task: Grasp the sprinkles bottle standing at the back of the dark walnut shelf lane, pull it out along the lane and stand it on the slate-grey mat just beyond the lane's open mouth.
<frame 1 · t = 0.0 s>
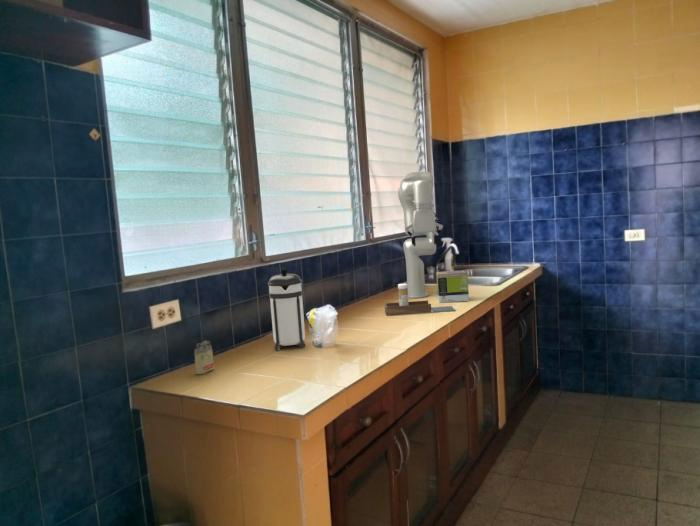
hand: (424, 244, 252), 31 cm above the countertop, fingers open, 9 cm apart
coffee press: (289, 345, 211), on the countertop
sprinkles bottle: (404, 312, 258), resting in walnut lane
pale green labeled container: (205, 372, 183), on the countertop
tea box: (453, 301, 280), on the countertop
walnut lane: (408, 312, 258), on the countertop
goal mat: (442, 309, 258), on the countertop
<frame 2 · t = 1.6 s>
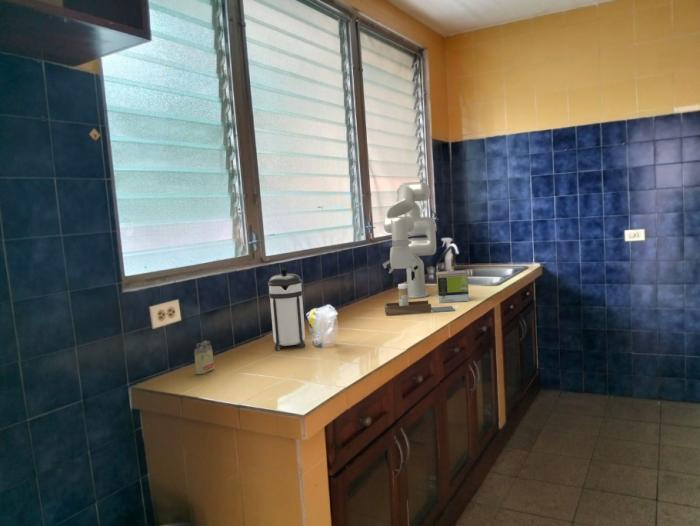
hand: (402, 280, 256), 15 cm above the countertop, fingers open, 9 cm apart
nothing on the countertop moved.
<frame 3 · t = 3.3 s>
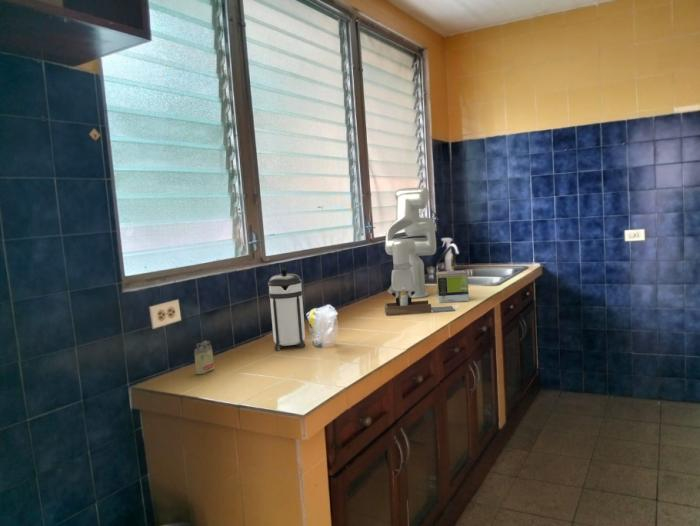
hand: (403, 305, 258), 3 cm above the countertop, fingers closed on sprinkles bottle, 4 cm apart
sprinkles bottle: (404, 312, 258), resting in walnut lane, touching gripper
everything else where it was.
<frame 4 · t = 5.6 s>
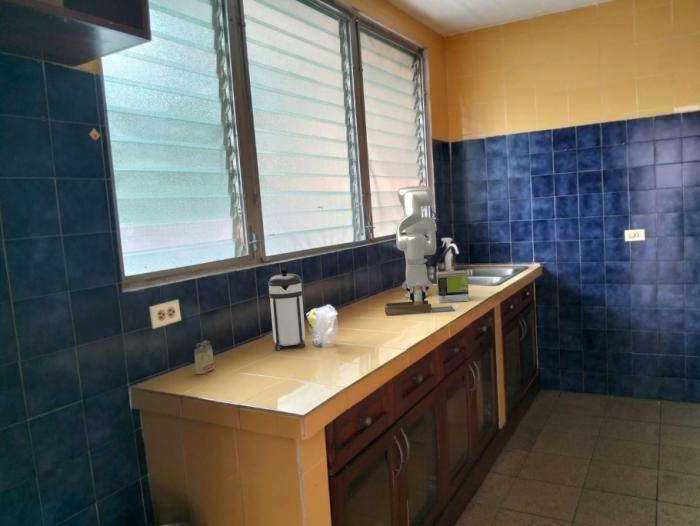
hand: (418, 300, 258), 5 cm above the countertop, fingers closed on sprinkles bottle, 4 cm apart
sprinkles bottle: (418, 308, 258), point 2 cm above the countertop, touching gripper
everything else where it was.
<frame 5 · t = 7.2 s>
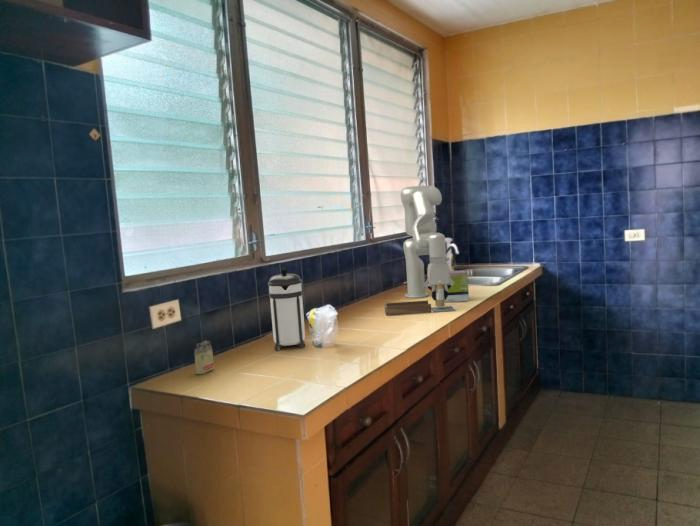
hand: (439, 299, 258), 5 cm above the countertop, fingers closed on sprinkles bottle, 4 cm apart
sprinkles bottle: (440, 306, 258), point 2 cm above the countertop, touching gripper
everything else where it was.
when the fingers open (5 cm above the countertop, at t = 8.3 s): sprinkles bottle stays where it is, resting on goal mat.
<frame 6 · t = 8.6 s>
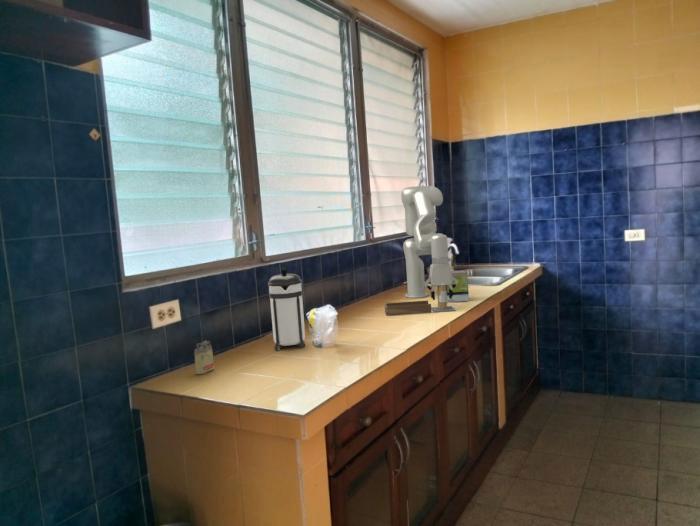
hand: (442, 298, 258), 5 cm above the countertop, fingers open, 7 cm apart
sprinkles bottle: (442, 308, 258), resting on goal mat
everything else where it was.
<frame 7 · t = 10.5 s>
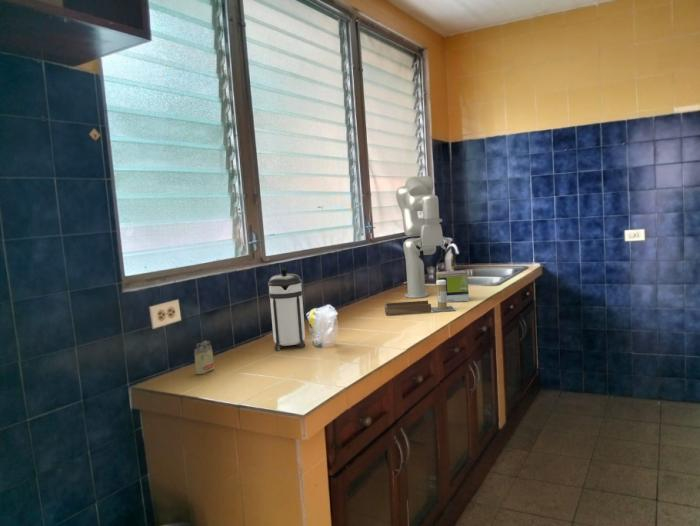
hand: (432, 258, 260), 24 cm above the countertop, fingers open, 9 cm apart
nothing on the countertop moved.
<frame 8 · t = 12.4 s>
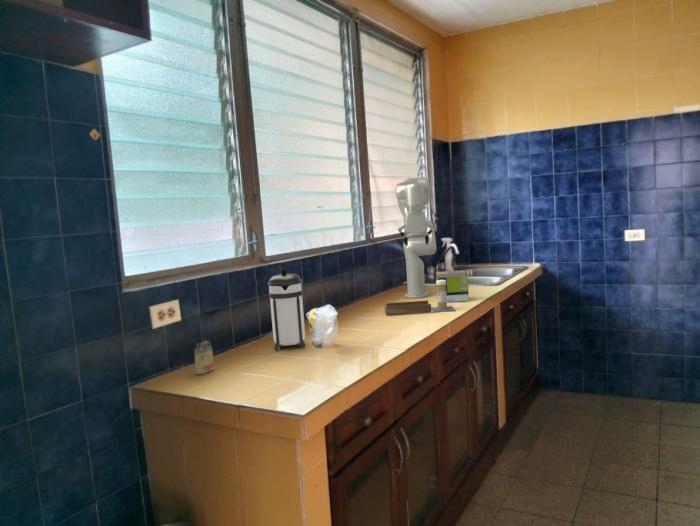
hand: (416, 244, 267), 30 cm above the countertop, fingers open, 9 cm apart
nothing on the countertop moved.
at the end: sprinkles bottle inside the target area (0.2 cm from its centre), resting on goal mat; sprinkles bottle tilted 0°; the gripper is holding nothing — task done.
